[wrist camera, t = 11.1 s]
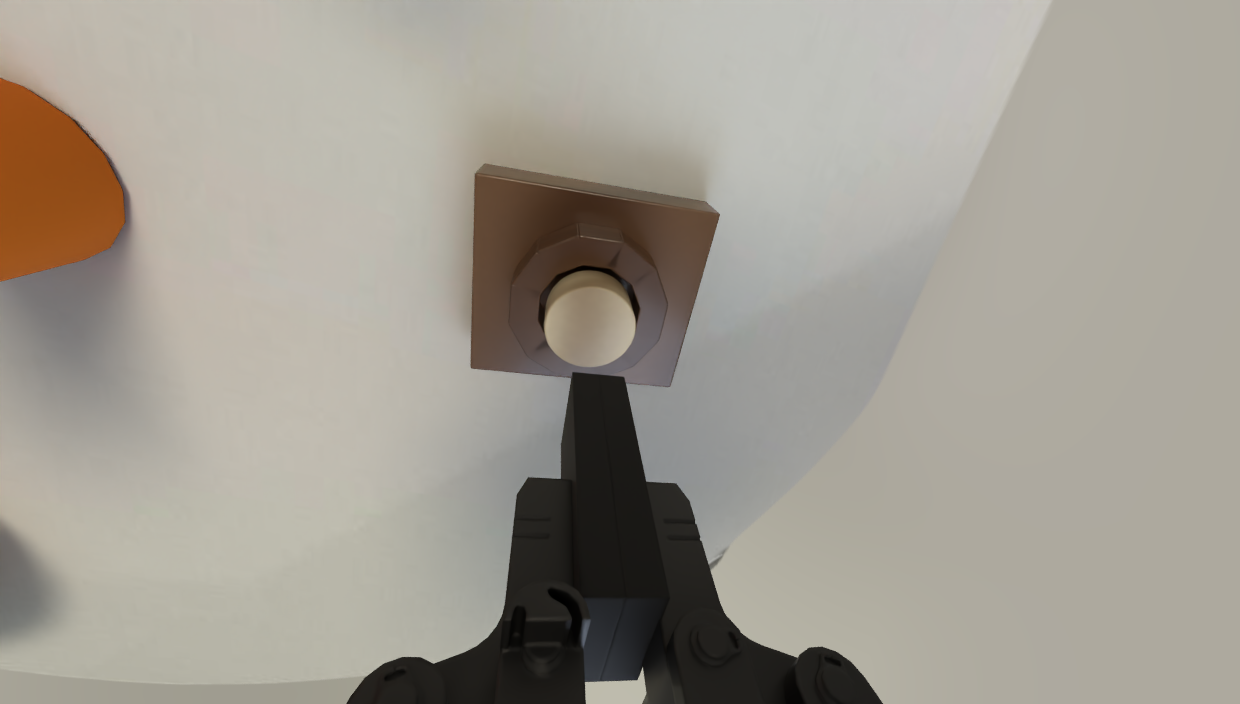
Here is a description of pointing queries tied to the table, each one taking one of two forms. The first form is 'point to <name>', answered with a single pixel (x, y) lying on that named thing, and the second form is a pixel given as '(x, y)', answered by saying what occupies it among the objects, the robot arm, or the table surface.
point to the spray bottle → (51, 188)
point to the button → (589, 319)
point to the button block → (582, 267)
